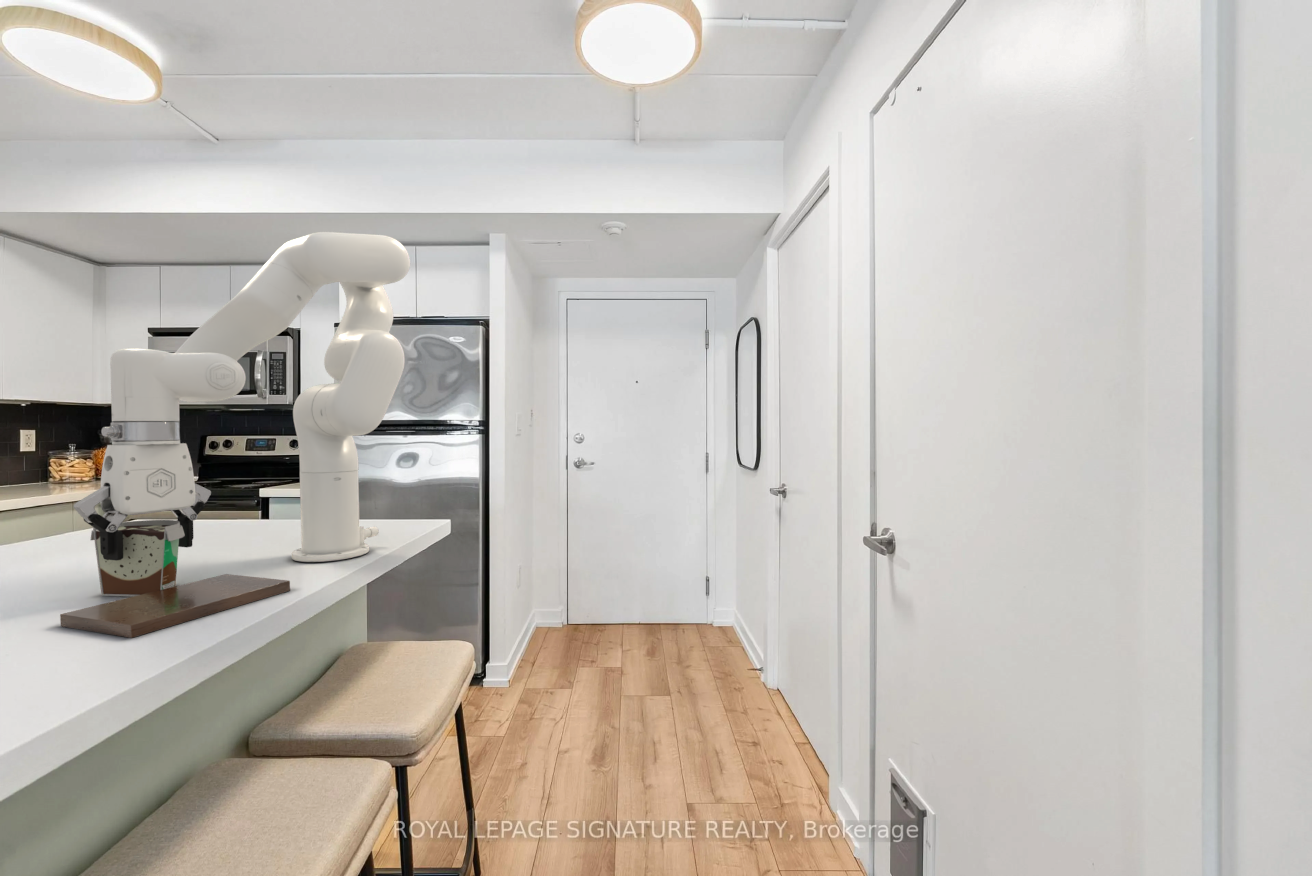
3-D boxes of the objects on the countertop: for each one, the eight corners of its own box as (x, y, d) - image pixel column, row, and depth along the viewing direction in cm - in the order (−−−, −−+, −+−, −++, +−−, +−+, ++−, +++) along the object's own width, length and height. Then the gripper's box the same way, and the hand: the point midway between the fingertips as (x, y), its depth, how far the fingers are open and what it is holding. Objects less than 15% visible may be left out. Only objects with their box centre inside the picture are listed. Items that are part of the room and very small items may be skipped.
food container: (208, 585, 90) (206, 519, 89) (170, 597, 84) (168, 526, 83) (134, 583, 91) (132, 518, 91) (92, 595, 85) (89, 525, 84)
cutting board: (226, 583, 91) (226, 573, 91) (290, 590, 86) (290, 580, 86) (60, 626, 72) (59, 614, 72) (131, 638, 68) (130, 625, 67)
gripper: (90, 435, 77) (94, 568, 78) (225, 433, 94) (227, 543, 94) (54, 435, 80) (58, 564, 80) (192, 433, 96) (194, 540, 96)
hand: (149, 552), depth 87 cm, fingers open, 8 cm apart
